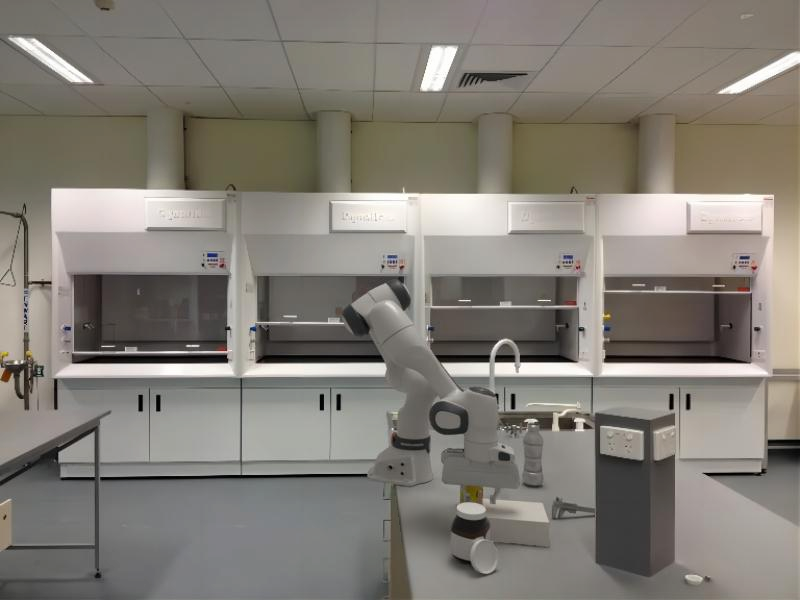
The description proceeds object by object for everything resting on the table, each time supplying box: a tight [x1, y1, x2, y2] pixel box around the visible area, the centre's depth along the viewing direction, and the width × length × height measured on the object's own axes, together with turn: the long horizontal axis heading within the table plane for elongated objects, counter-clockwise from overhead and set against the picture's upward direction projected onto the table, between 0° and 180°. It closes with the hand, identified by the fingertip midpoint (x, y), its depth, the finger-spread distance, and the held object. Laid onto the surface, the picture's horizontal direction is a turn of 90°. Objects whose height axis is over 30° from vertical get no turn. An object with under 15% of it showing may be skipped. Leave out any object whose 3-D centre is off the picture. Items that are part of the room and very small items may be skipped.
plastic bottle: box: [522, 422, 544, 487], centre depth 163 cm, size 6×7×20 cm
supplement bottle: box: [459, 486, 484, 504], centre depth 144 cm, size 7×7×13 cm
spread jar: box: [450, 502, 499, 575], centre depth 114 cm, size 12×11×12 cm
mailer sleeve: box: [482, 498, 550, 548], centre depth 129 cm, size 16×12×6 cm
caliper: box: [551, 496, 596, 520], centre depth 140 cm, size 20×1×6 cm, turn 101°
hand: (479, 502), depth 130 cm, fingers open, 5 cm apart
